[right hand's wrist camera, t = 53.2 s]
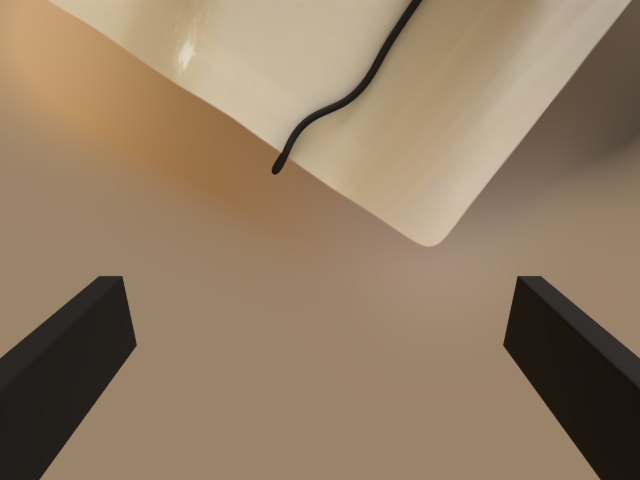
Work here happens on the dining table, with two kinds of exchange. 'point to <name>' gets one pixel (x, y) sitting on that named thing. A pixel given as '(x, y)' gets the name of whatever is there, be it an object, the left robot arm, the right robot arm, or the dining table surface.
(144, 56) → the dining table surface
